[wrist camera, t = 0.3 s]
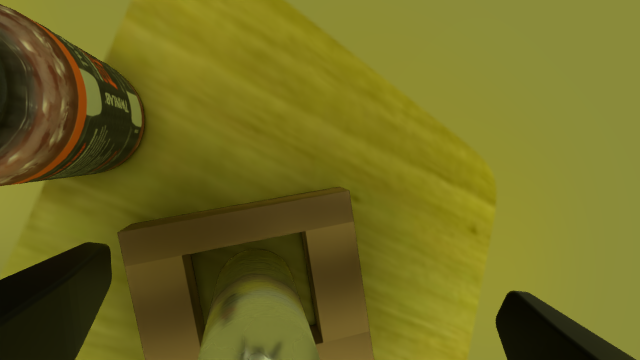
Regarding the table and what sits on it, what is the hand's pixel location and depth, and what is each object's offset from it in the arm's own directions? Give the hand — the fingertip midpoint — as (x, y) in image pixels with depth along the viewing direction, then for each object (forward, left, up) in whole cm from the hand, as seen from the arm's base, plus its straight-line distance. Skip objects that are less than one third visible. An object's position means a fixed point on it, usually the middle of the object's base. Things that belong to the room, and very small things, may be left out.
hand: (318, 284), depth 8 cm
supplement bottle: (+6, +9, -14) cm, 18 cm away
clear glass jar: (-5, +2, -14) cm, 15 cm away
